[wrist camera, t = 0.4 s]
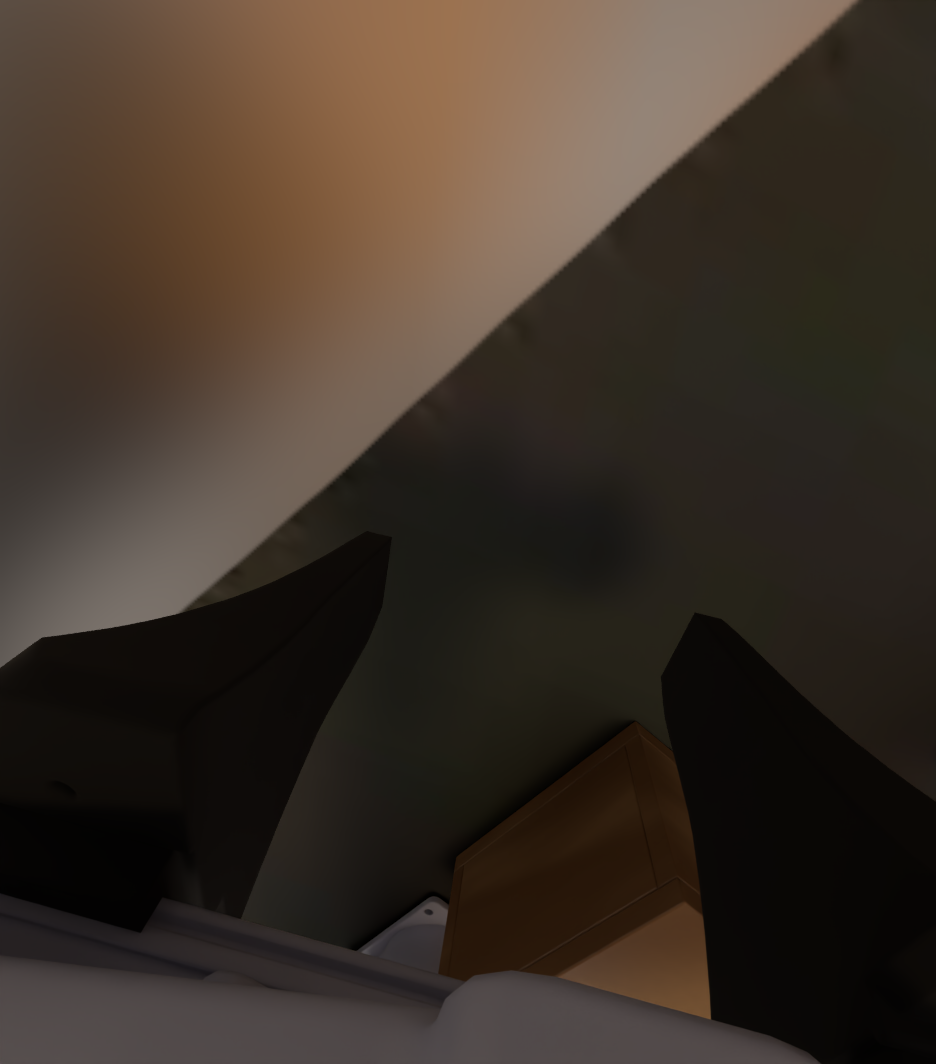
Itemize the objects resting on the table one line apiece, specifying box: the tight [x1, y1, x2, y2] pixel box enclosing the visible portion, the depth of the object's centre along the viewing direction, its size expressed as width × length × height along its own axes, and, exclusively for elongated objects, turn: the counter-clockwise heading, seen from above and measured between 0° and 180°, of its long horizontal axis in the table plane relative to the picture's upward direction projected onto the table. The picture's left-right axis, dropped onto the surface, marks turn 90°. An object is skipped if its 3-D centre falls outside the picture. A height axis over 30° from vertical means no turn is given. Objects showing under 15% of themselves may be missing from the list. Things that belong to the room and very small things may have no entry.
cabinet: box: [438, 721, 711, 1019], centre depth 24 cm, size 16×14×9 cm
